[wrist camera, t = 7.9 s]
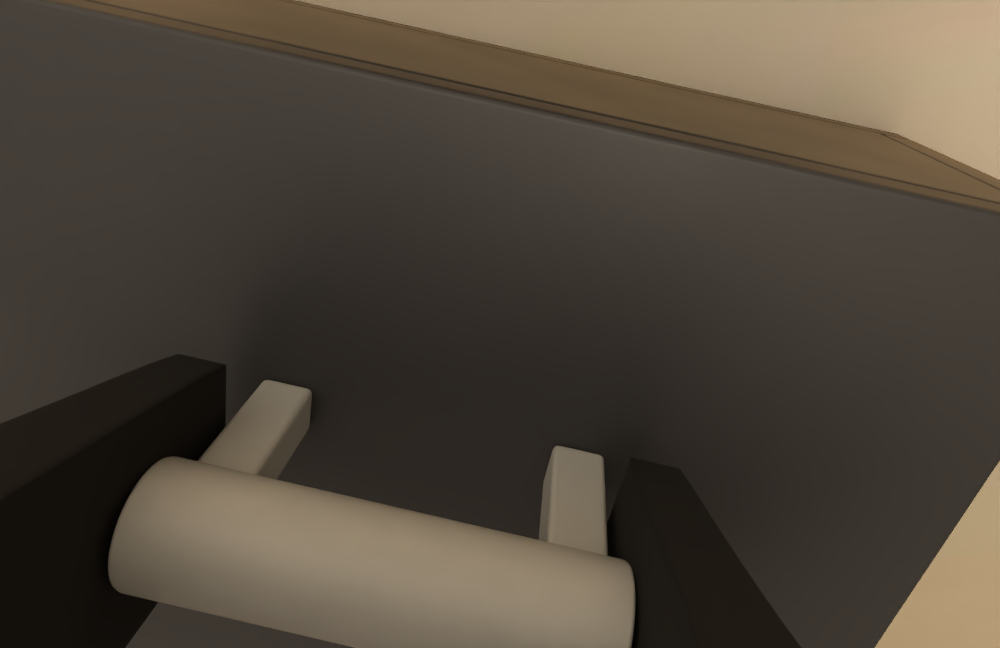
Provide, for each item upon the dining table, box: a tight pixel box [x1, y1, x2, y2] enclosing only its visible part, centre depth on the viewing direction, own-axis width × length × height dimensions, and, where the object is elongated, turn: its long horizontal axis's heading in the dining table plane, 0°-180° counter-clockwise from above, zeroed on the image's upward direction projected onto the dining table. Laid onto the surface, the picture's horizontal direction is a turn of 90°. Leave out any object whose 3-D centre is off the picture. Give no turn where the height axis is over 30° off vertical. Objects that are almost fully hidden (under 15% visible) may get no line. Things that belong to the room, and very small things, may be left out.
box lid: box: [0, 0, 1000, 648], centre depth 9 cm, size 12×14×4 cm
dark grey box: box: [85, 0, 1000, 204], centre depth 13 cm, size 11×14×6 cm
